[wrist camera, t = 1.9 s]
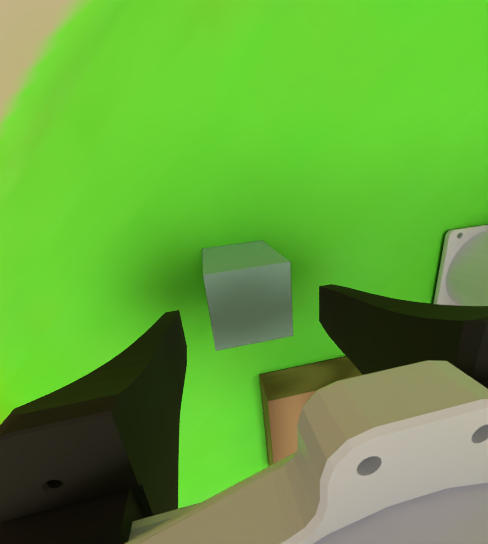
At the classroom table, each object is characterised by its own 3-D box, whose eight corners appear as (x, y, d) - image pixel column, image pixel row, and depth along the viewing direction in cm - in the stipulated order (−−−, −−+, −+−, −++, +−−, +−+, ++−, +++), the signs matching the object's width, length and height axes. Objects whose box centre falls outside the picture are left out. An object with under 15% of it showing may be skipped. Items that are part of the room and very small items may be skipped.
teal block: (262, 240, 18) (290, 261, 12) (266, 294, 20) (293, 335, 14) (202, 248, 17) (203, 275, 12) (211, 303, 19) (215, 350, 13)
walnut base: (379, 349, 23) (403, 370, 21) (370, 437, 27) (389, 465, 24) (259, 374, 22) (268, 401, 19) (268, 463, 26) (276, 497, 23)
